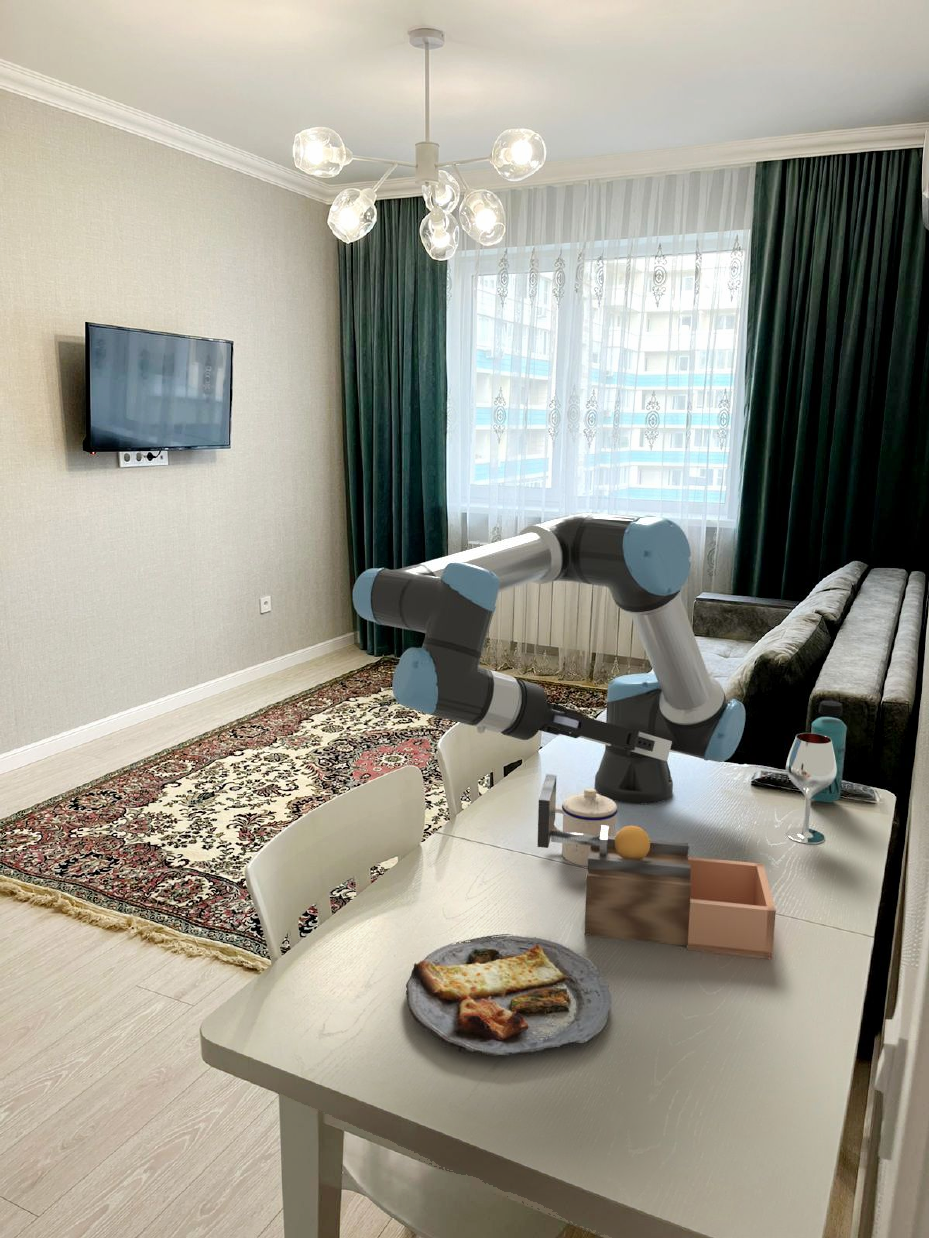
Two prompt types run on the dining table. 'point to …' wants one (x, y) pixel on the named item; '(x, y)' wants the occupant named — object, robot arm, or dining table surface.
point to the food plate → (506, 994)
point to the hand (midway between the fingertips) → (638, 743)
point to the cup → (730, 908)
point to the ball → (632, 843)
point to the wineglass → (810, 777)
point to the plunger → (546, 826)
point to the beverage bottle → (837, 734)
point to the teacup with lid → (585, 821)
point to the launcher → (639, 894)
